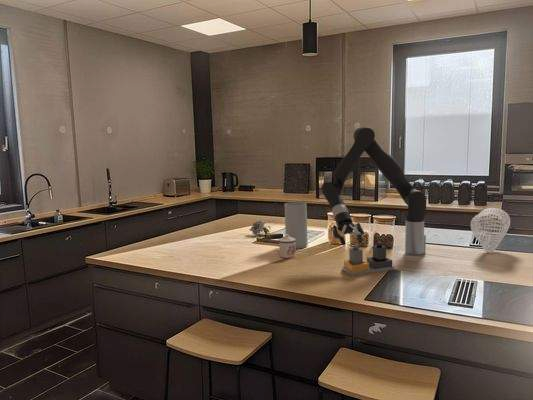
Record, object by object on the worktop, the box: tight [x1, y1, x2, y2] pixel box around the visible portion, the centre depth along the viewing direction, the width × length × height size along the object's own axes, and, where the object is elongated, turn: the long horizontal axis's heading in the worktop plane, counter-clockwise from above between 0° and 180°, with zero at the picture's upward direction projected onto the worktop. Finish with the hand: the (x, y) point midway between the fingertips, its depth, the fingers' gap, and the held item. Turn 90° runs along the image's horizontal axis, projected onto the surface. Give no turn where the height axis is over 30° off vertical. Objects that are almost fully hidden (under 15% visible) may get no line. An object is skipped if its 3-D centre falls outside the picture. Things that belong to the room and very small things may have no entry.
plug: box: [348, 243, 364, 265], centre depth 194 cm, size 4×4×11 cm
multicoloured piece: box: [341, 241, 395, 276], centre depth 195 cm, size 22×9×12 cm, turn 105°
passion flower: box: [248, 219, 271, 237], centre depth 276 cm, size 11×11×12 cm
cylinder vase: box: [284, 201, 309, 250], centre depth 242 cm, size 12×12×25 cm
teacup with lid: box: [278, 233, 297, 259], centre depth 225 cm, size 12×9×12 cm
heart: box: [470, 207, 511, 254], centre depth 213 cm, size 28×16×22 cm, turn 142°
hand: (352, 243), depth 196 cm, fingers open, 8 cm apart
